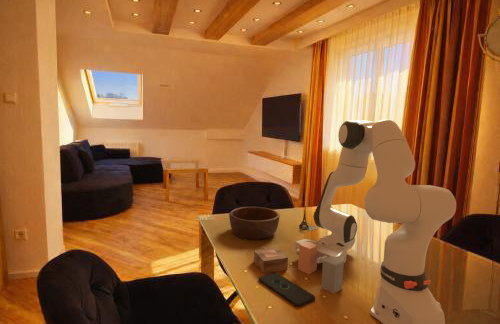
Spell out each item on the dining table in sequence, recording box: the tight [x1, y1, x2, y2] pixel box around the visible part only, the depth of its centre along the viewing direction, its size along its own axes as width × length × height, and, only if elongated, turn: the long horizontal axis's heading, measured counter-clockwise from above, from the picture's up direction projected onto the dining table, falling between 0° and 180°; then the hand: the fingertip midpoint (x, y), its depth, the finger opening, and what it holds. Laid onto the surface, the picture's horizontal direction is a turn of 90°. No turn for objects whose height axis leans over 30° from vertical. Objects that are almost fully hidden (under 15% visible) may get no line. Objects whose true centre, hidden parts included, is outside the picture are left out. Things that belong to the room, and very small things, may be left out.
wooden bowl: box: [228, 206, 280, 241], centre depth 159 cm, size 25×25×10 cm
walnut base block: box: [253, 247, 289, 274], centre depth 125 cm, size 10×10×5 cm
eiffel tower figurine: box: [298, 205, 318, 234], centre depth 169 cm, size 15×10×13 cm
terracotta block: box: [297, 242, 318, 275], centre depth 121 cm, size 5×5×10 cm
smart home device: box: [258, 271, 316, 309], centre depth 107 cm, size 8×2×20 cm
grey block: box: [320, 256, 345, 294], centre depth 108 cm, size 5×5×10 cm
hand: (306, 256), depth 121 cm, fingers open, 8 cm apart
